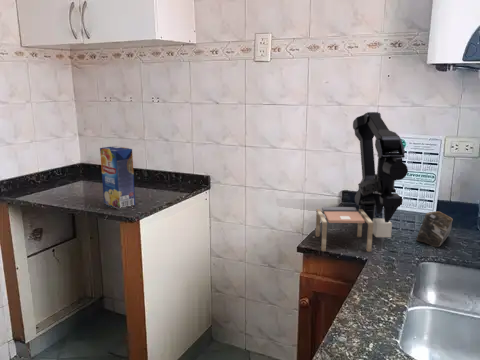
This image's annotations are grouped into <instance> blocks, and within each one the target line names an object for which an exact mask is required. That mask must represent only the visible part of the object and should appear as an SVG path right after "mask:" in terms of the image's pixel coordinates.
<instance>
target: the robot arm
mask: <svg viewBox="0 0 480 360" xmlns="http://www.w3.org/2000/svg"><path fill="white" fill-rule="evenodd" d="M352 129H353V130H354V135H355V138H357V140H358V141H359V148H360V149H359V152H360V161H361V176H362V179H361V181H360V183H358V189H357V192H356V194H355V195H354V203H355V204H356V205H357V206H359V207H358V210H359V209H363V211H364V212H365V213H366V214H367V216H368V217H369V218H370V219H371V220H372V222H373V219H377V218H376V216H375V215H376V213H377V215H378V214H379V215H380V214H382V211H383V217H384V218H383V219H385V222H389V221H391V219H392V217H393V215H394V214H395V212H396V211H397V210H398V208H400V207H401V206H402V205H403V200H404V199H403V198H402V197H401V196H400V195H399V194H398V193H397V191H396V190H397V189H395V182H396V181H400V180H403V179H404V178H405V177H406V176H408V175H407V174H408V173H409V169H408V166H407V164H406V163H404V162H403V159H404V158H405V157H406V156H405V154H406V151H405V147H404V143H403V142H402V141H403V140H402V138H401V137H400V135H399V134H397V132H395V131H392V130H390V129H389V128H388V126H387V124H386V123H385V121H384V120H383V118H382V115H381V113H380V112H378V111H374V112H373V111H367V112H365V113H364V114H362V115H359V116H356V117H355V119H354V120H353V122H352ZM374 137H375V141H374V140H373V139H374ZM373 141H374V142H373ZM374 145H375V150H376V153H377V156H376V157H377V170H376V166H375V165H376V164H375V153H374ZM363 219H364V218H363ZM365 223H367V222H366V221H365Z"/></svg>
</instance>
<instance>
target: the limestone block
mask: <svg viewBox="0 0 480 360" xmlns="http://www.w3.org/2000/svg"><path fill="white" fill-rule="evenodd" d="M392 229H393V222H391V220H389V222H385V219H384V218H376V219H373V234H372V235H373V236H374V237H376V238H392Z"/></svg>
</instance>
